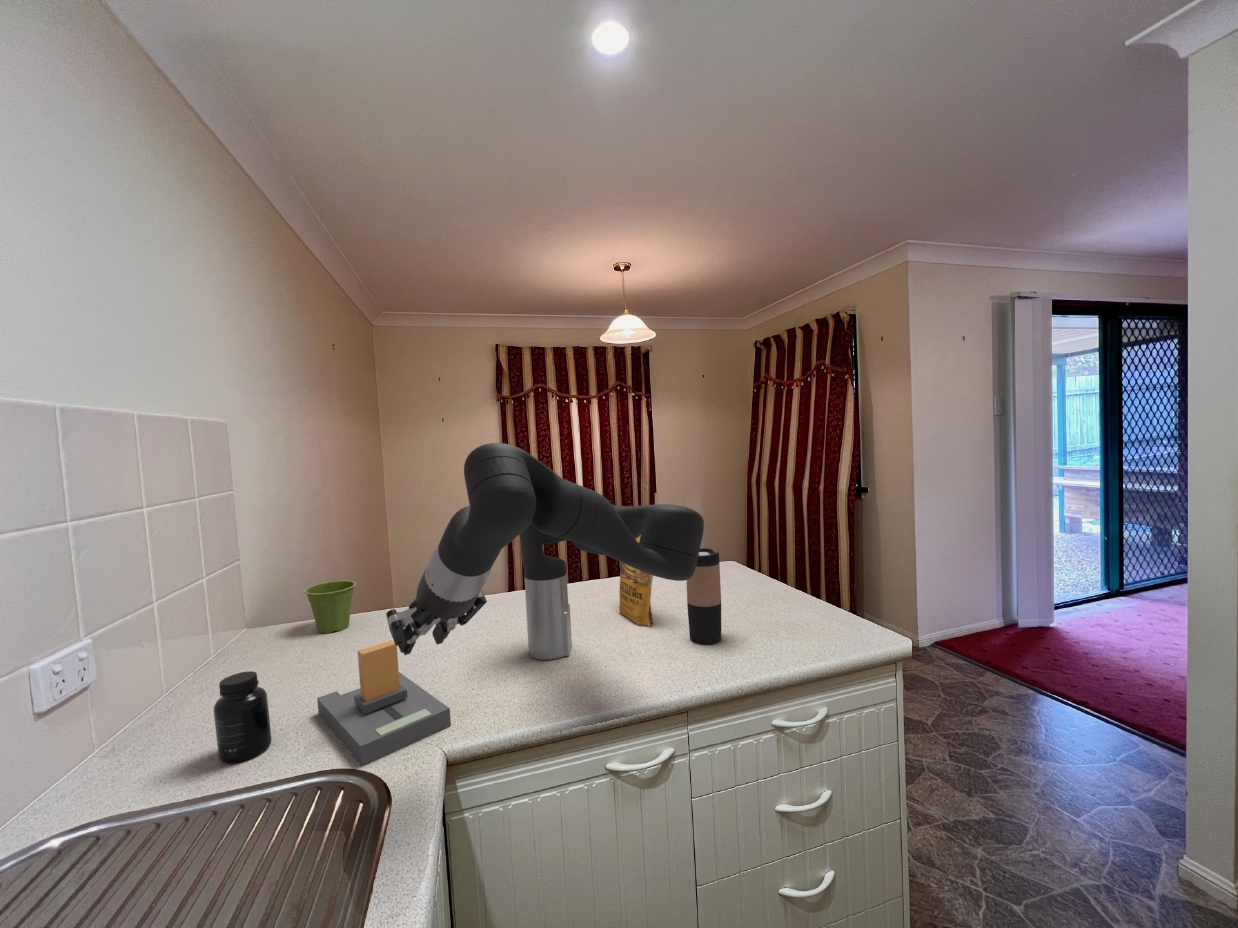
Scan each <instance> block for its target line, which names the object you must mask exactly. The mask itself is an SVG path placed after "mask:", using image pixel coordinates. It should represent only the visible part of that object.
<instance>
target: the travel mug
mask: <svg viewBox="0 0 1238 928" xmlns="http://www.w3.org/2000/svg"><path fill="white" fill-rule="evenodd" d="M720 566H721V565H720V551H717V552H716V551H714V549H712V548H706V547H705V548H701V547H700V551H699V556H698V561H697V566H696V569H695V572H694V574H693V576H692V577H691V578H690V579H688V580H686V602H687V603H686V605H687V617H688V618H687V619H688V634H689V639H690V641H691V642H692V643H694V644H697V645H703V646H707V645H708V646H710V645H715V644H718V643H720V642H721V641H722V592H721V591H722V590H721V589H722V588H721V586H722V585H721V569H720Z"/></svg>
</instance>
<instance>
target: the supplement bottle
mask: <svg viewBox="0 0 1238 928" xmlns="http://www.w3.org/2000/svg"><path fill="white" fill-rule="evenodd" d="M218 686H219V696H220V698H218V700H217V701H216V702H215V703H214V705H213V718H214V726H215V735H216V745H217V752H218V753H217V754H218V759H219V760H220V762H221V763H224V764H230V765H231V764H238V763H242V762H245V761H249V760H252V759H254V758H255V757H257V756H260V755H261V754H262V753H264V752H265V751H266V750H267V749H268V748H269V747H270V745H271V743H272V732H271V720H270V711H269V703H268V694H267V691H266V689H264V688H263V687H260V686H259V680H258V673H257V672H256V671H252V670H251V671H250V670H249V671H242V672H238V673H235V674H232V675H229V676H226V677H224V678H223V679H221V681H220V682H219V684H218Z"/></svg>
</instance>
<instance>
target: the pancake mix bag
mask: <svg viewBox="0 0 1238 928" xmlns="http://www.w3.org/2000/svg"><path fill="white" fill-rule="evenodd" d="M640 536H641V535H640ZM640 536H639V537H638V538H636V541H637V542H638V543H639V541H640ZM619 569H620V570H619V595H618V596H619V606H618V609H619V613H620V614H621V615H622V616H624V618H626V619H628V620H629V621H630V622H632V623H634V624H635V625H636V626H638V627H652V625H653V624H654V622H653V614H652V606H651V604H652V603H651V599H652V597H651V596H652V586H653V579H654V576H653V575H650V574H647V573H644V572H642V571H640V570H637V569H635V568H633V567H631V566H628V565H626V564H624V563H622V562H619Z"/></svg>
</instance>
